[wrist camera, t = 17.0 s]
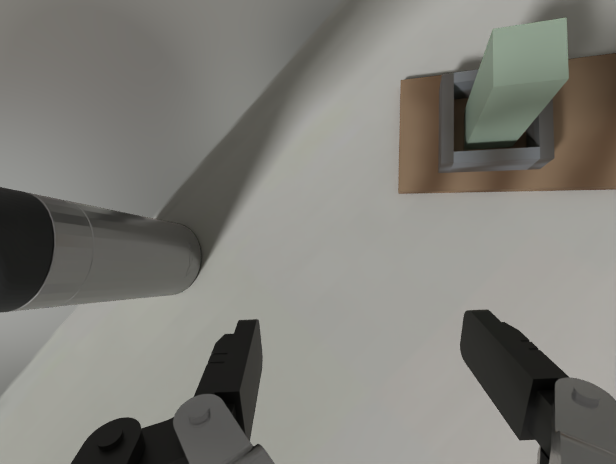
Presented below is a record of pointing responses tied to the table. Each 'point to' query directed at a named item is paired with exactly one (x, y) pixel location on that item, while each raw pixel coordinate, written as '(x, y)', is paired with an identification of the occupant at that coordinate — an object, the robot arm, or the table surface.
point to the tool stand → (528, 148)
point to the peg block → (515, 82)
